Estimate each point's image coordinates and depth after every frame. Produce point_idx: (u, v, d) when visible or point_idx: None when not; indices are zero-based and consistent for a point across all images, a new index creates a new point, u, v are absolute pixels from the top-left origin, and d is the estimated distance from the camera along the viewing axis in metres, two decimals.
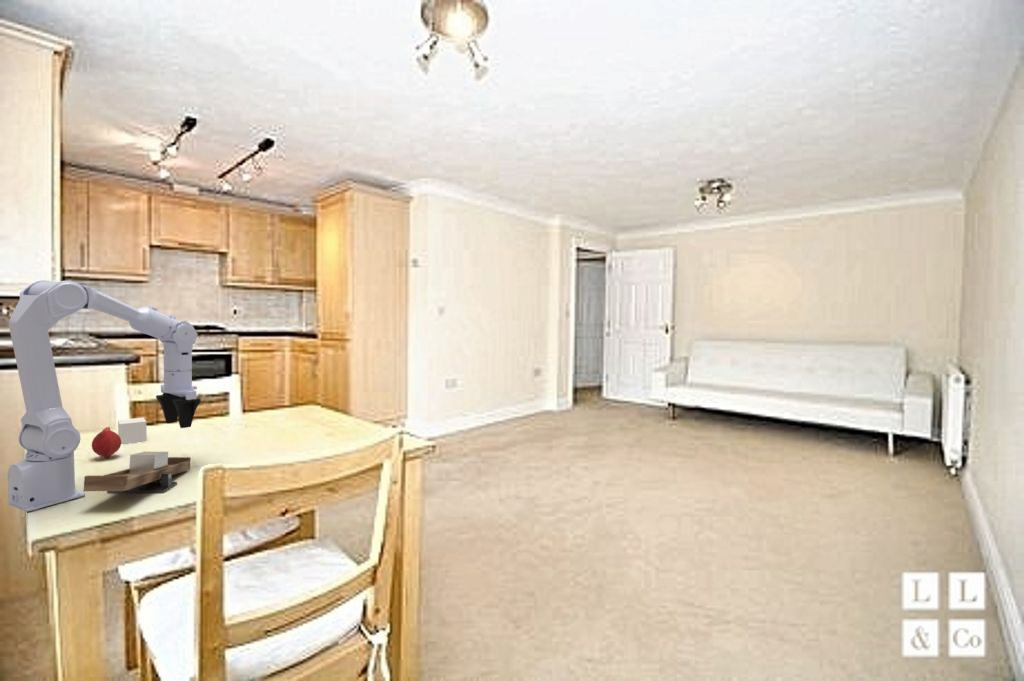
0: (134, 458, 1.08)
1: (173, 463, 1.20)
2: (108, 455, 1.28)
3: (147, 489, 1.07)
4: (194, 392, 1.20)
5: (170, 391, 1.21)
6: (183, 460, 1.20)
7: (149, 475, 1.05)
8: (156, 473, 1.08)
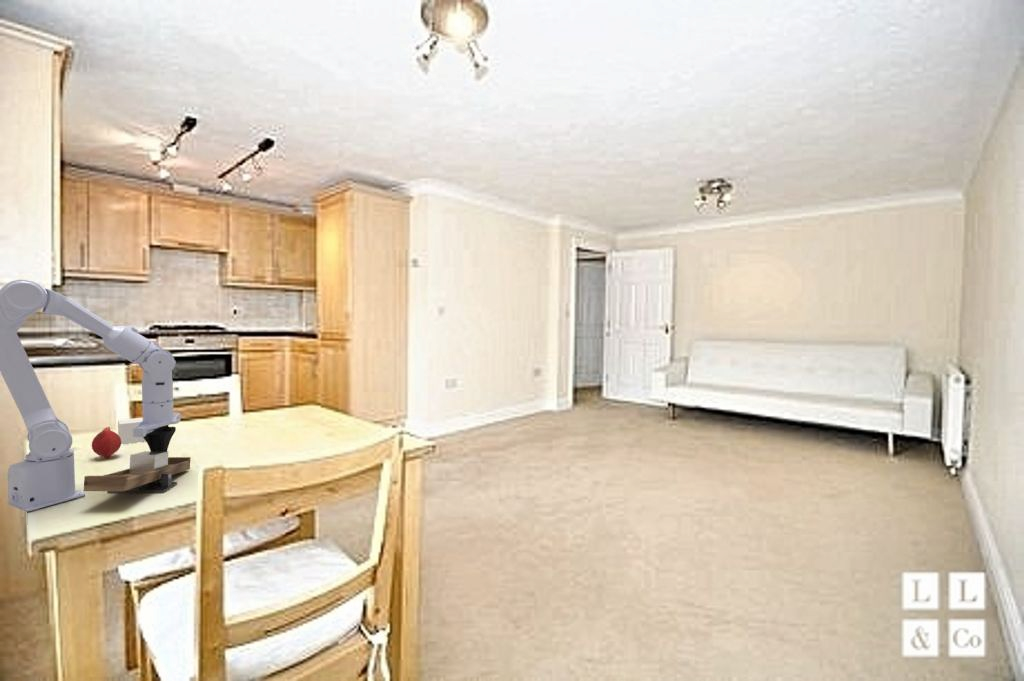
0: (134, 458, 1.08)
1: (173, 463, 1.20)
2: (108, 455, 1.28)
3: (147, 489, 1.07)
4: (140, 429, 1.07)
5: None
6: (183, 460, 1.20)
7: (149, 475, 1.05)
8: (156, 473, 1.08)
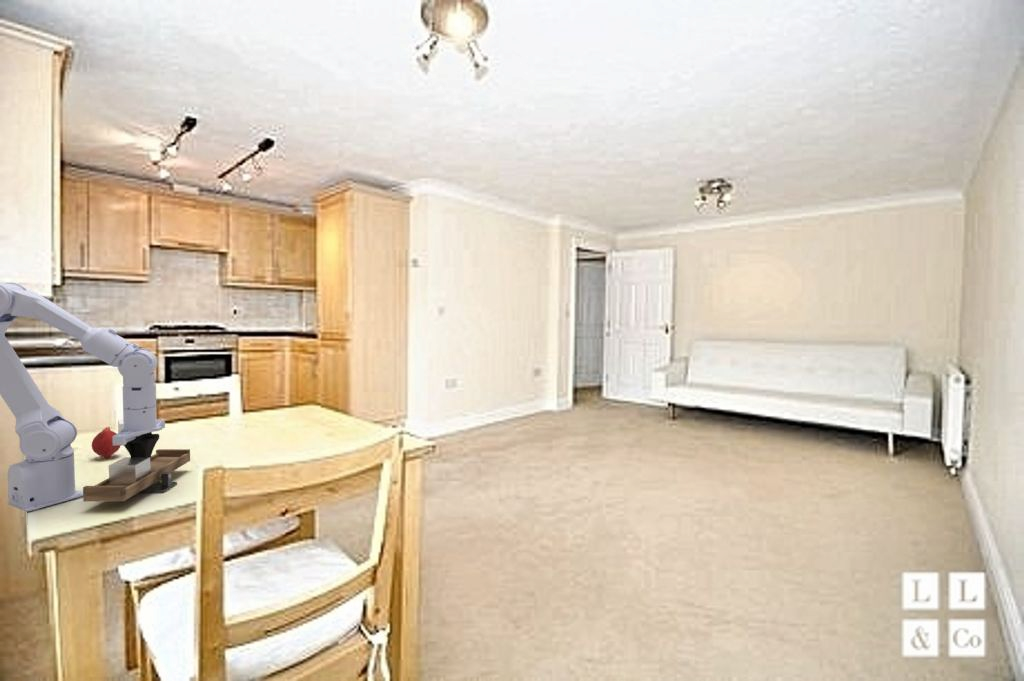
0: (113, 469, 1.02)
1: (173, 455, 1.20)
2: (108, 455, 1.28)
3: (147, 489, 1.07)
4: (120, 437, 1.00)
5: None
6: (183, 452, 1.20)
7: (148, 478, 1.05)
8: (156, 474, 1.08)
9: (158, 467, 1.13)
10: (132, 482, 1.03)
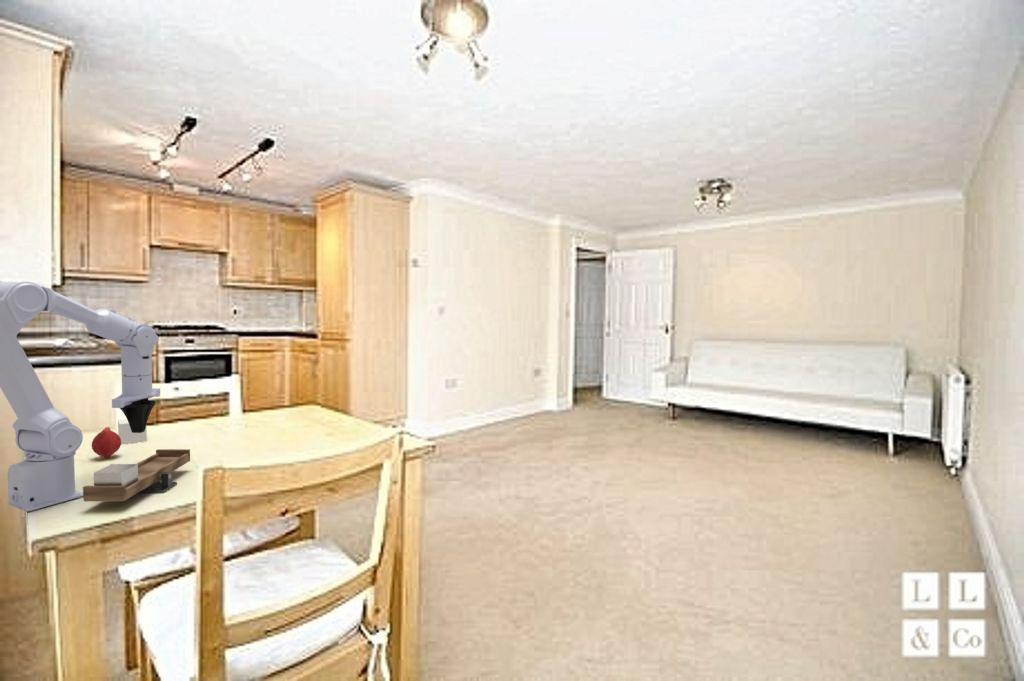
0: (98, 476, 0.98)
1: (173, 455, 1.20)
2: (108, 455, 1.28)
3: (147, 489, 1.07)
4: (119, 400, 1.11)
5: None
6: (183, 452, 1.20)
7: (149, 478, 1.05)
8: (156, 474, 1.08)
9: (158, 467, 1.13)
10: None
